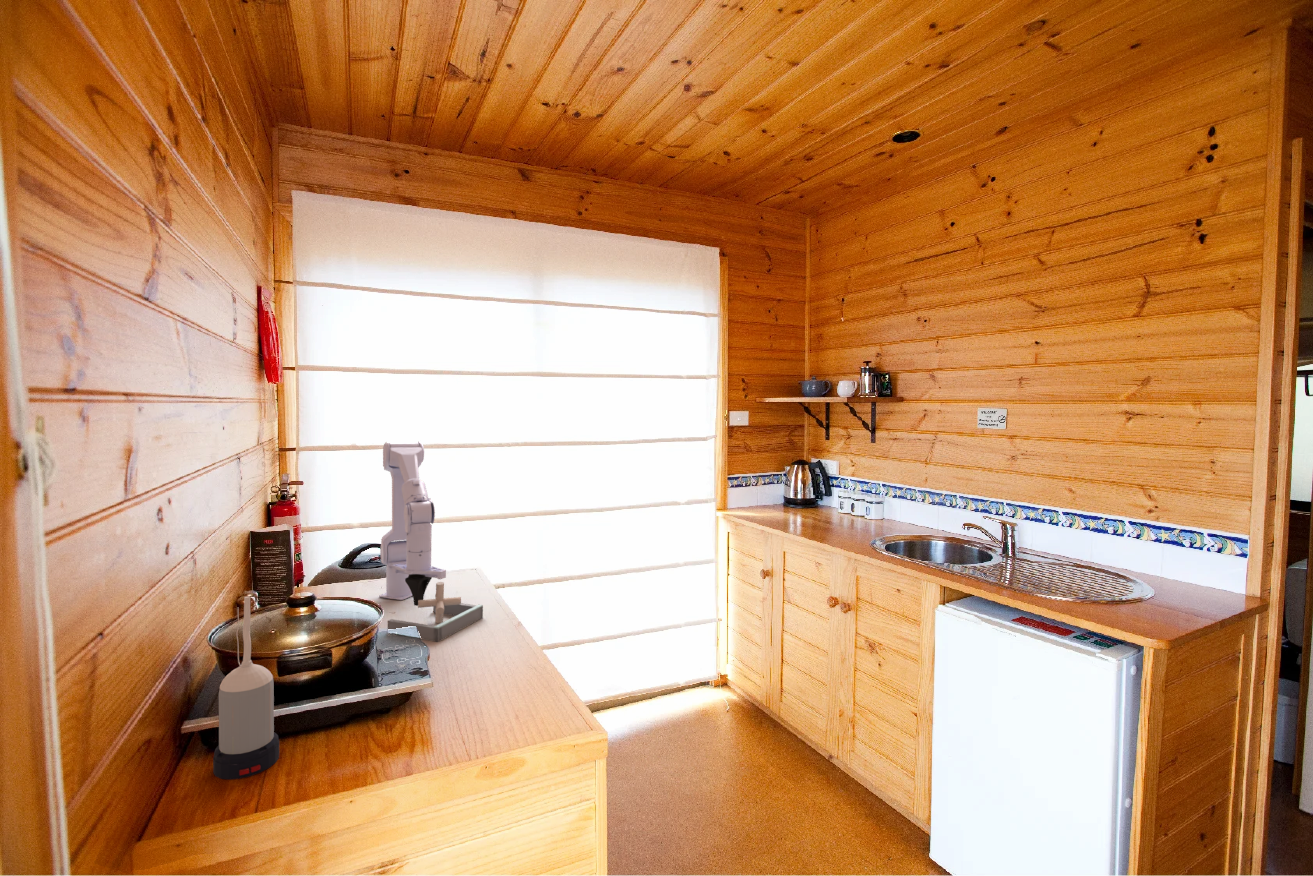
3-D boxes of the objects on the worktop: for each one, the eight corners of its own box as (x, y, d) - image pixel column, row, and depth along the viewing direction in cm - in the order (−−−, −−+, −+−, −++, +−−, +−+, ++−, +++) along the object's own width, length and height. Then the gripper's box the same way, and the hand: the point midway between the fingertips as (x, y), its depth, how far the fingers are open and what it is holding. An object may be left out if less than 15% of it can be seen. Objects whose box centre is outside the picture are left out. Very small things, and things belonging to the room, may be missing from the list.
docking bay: (387, 633, 143) (387, 619, 143) (436, 610, 159) (436, 598, 159) (438, 641, 138) (438, 627, 138) (482, 617, 155) (482, 605, 155)
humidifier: (243, 784, 85) (242, 608, 84) (199, 773, 87) (197, 602, 86) (292, 753, 93) (292, 591, 92) (250, 744, 95) (249, 586, 94)
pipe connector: (461, 628, 148) (462, 589, 147) (417, 632, 145) (418, 592, 143) (459, 611, 158) (460, 574, 156) (417, 614, 154) (418, 577, 153)
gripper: (383, 550, 148) (383, 605, 149) (432, 556, 144) (432, 613, 144) (403, 545, 155) (403, 597, 155) (451, 550, 150) (451, 604, 151)
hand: (418, 604), depth 150 cm, fingers closed, pressing on pipe connector
